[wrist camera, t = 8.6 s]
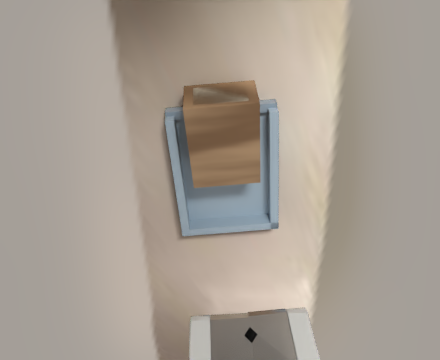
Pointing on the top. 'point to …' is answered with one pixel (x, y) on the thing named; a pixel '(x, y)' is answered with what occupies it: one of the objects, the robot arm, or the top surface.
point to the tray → (229, 194)
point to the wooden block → (223, 133)
